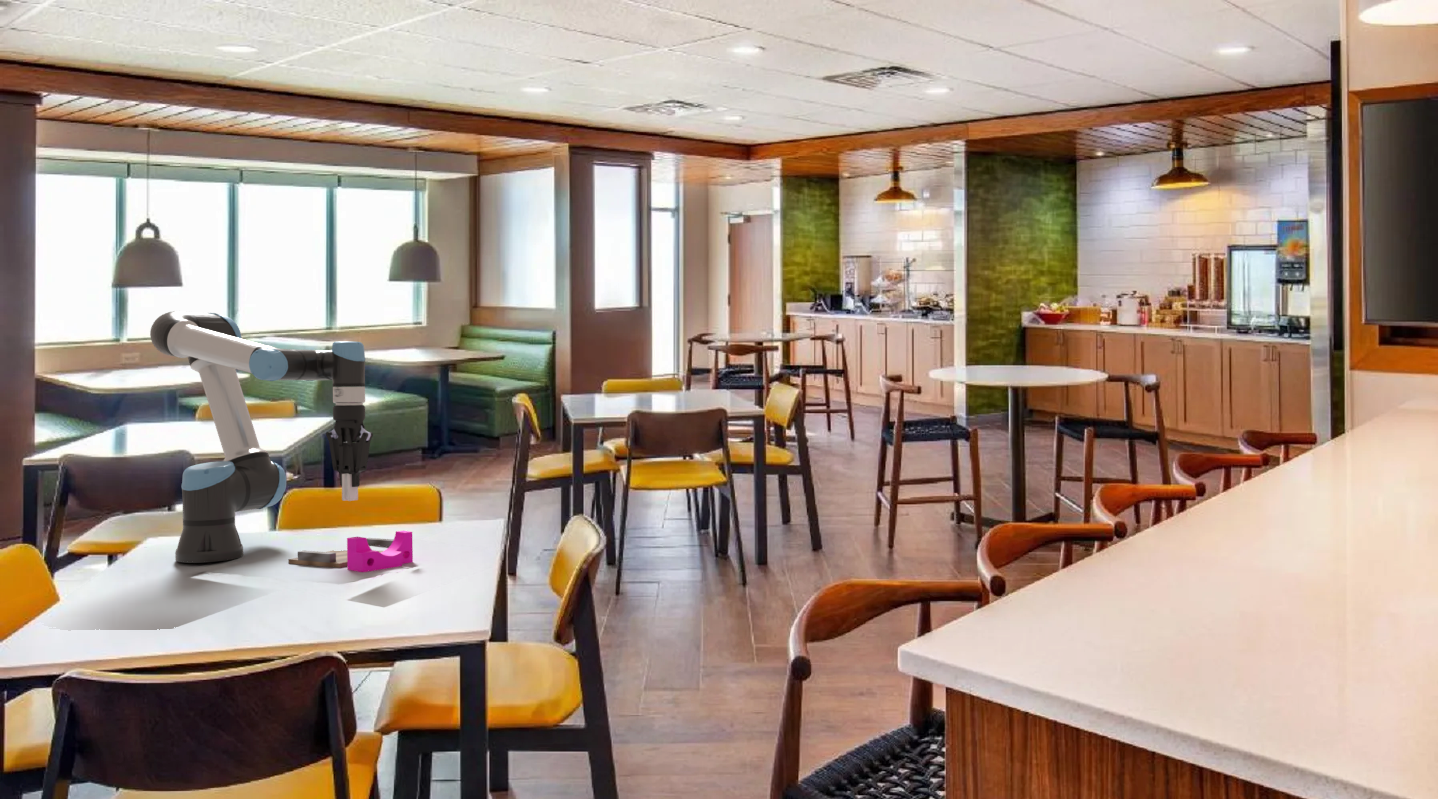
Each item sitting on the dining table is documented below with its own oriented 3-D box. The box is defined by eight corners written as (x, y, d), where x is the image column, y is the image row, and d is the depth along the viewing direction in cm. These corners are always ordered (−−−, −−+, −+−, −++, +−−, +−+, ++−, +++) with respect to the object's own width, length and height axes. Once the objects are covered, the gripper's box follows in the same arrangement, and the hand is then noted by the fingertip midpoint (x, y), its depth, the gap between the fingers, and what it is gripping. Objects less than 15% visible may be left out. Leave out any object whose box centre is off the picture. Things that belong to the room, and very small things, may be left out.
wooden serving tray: (288, 563, 254) (288, 550, 254) (360, 548, 276) (360, 537, 276) (339, 567, 248) (339, 554, 248) (409, 552, 269) (409, 540, 269)
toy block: (362, 573, 242) (362, 540, 242) (347, 570, 246) (347, 537, 245) (418, 564, 253) (418, 532, 253) (403, 561, 257) (403, 530, 257)
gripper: (315, 404, 261) (316, 500, 261) (360, 404, 255) (361, 503, 255) (338, 403, 268) (339, 497, 268) (382, 404, 262) (383, 499, 262)
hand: (350, 499), depth 262 cm, fingers closed
